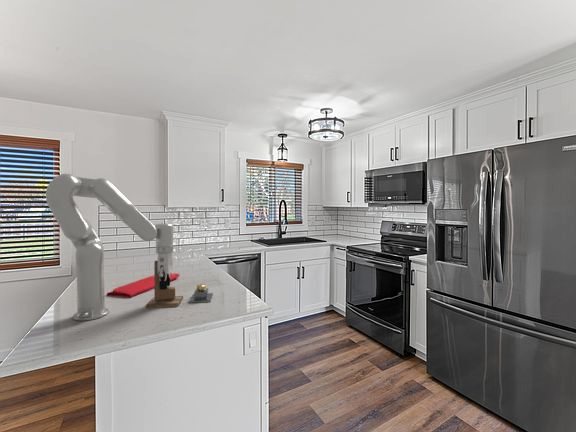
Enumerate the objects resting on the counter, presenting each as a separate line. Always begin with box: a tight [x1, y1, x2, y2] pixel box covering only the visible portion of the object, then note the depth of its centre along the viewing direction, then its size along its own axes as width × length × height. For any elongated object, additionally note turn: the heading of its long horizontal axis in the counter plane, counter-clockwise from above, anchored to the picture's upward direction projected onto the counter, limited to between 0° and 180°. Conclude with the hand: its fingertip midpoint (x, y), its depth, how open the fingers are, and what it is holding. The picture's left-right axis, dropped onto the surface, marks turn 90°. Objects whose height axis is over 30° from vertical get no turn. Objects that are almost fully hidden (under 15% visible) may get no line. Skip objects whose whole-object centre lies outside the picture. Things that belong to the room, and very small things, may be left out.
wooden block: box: [153, 260, 176, 300], centre depth 139 cm, size 9×4×18 cm, turn 112°
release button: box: [196, 283, 207, 291], centre depth 145 cm, size 4×4×2 cm
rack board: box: [145, 295, 184, 309], centre depth 139 cm, size 11×14×2 cm
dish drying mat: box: [106, 272, 180, 299], centre depth 168 cm, size 16×41×4 cm, turn 166°
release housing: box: [188, 287, 214, 304], centre depth 146 cm, size 12×10×4 cm
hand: (164, 287), depth 138 cm, fingers closed on wooden block, 4 cm apart
